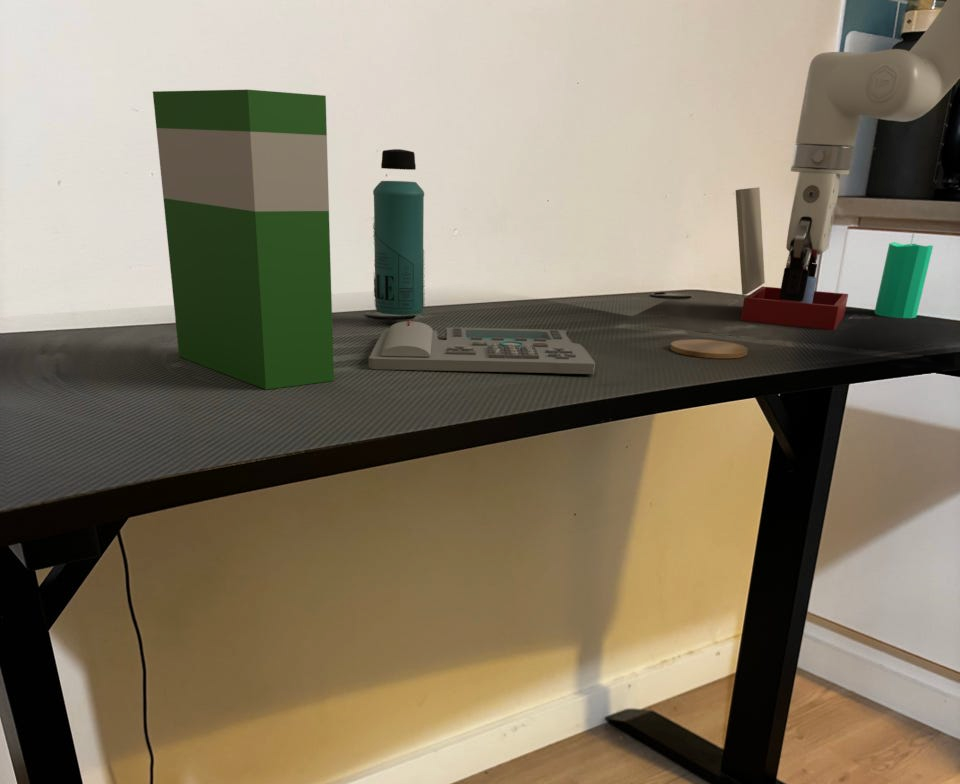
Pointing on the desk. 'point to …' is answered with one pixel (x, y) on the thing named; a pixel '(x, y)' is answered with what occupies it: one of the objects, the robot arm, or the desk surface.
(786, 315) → the shallow red crate
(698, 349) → the coaster
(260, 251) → the cereal box
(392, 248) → the beverage bottle
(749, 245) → the grey flat panel
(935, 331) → the desk surface
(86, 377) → the desk surface
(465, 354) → the office telephone
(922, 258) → the candle
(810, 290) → the blue cylinder
